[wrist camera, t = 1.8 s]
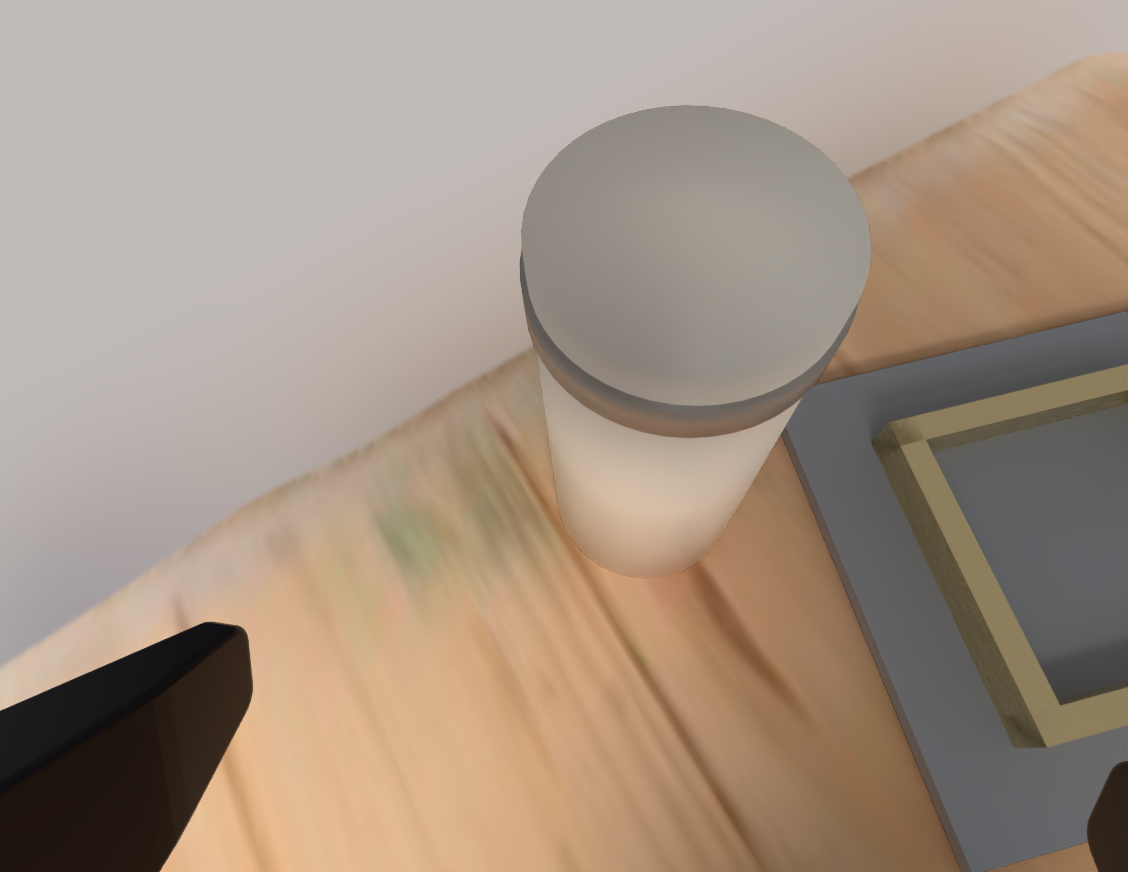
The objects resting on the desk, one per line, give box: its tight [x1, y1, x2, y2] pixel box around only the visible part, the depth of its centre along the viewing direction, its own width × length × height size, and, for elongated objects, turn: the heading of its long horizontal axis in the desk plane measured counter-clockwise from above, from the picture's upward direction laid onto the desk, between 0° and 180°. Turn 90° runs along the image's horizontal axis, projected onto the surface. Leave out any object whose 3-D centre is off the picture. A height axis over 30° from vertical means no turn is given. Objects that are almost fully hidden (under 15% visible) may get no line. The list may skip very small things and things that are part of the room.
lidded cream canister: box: [520, 106, 871, 578], centre depth 17 cm, size 6×6×12 cm
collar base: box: [781, 311, 1128, 872], centre depth 21 cm, size 14×14×2 cm
